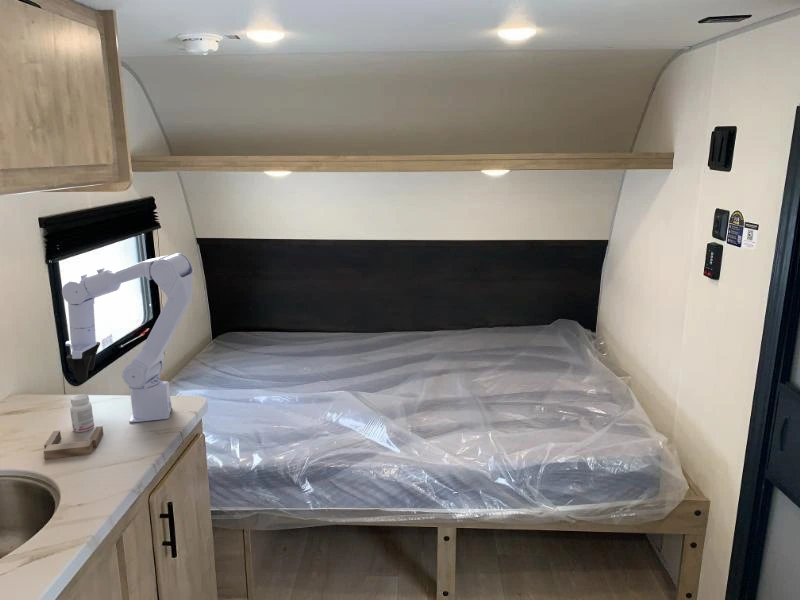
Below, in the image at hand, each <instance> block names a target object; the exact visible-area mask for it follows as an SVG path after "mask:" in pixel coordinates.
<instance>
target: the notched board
mask: <svg viewBox="0 0 800 600" xmlns="http://www.w3.org/2000/svg"><path fill="white" fill-rule="evenodd" d="M61 434H62V433H61V430H53V432H52V433H51V434H50V436H49V437H48V439H47V440H46V441H45V443H44V445H43V447H44V450H43V456H44V457H43V458H44V460H50V459H59V458H69V457H76V456H78V457H79V456H86V455H92V451H93V450H94V449H97V448H98V446H99V444H100V442H101V440H102V438H103V436H104V426H103V425H100V426H96V427H95V428H94V431H93V432H92V434H91V436H90V438H89V440H81V441H73V442H72V441H71V442H64V443H59V442H60V441H61V439H62V435H61Z"/></svg>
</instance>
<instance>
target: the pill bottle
mask: <svg viewBox="0 0 800 600" xmlns="http://www.w3.org/2000/svg"><path fill="white" fill-rule="evenodd" d="M70 403H71V405H70V406H69V412H70V416H71V417H70V419H71V425H72V430H73V431H74V432H77V433H83V432H87V431H90V430H92V429H93V428H94V427H95V421H94V414H93V406H92V402H91V401H90V397H89V394H88V393H79V394H75V395H72V396H71V397H70Z"/></svg>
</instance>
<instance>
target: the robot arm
mask: <svg viewBox="0 0 800 600" xmlns="http://www.w3.org/2000/svg"><path fill="white" fill-rule="evenodd" d="M194 272H195V269H194V266H193V265H192V262H191V260H190V259H189V257H188V256H187V255H186V254H183V253H180V252H176V253H172V254H171V255H162V256H158V257H154V258H149V259H146V260H144V261H139V262H138V263H135V264H134V265H133V264H132V265H129V266H127V267H125V268H122V269H120V270H117V271H116V270H114V269H111V268H105V267H102V268H98V269H97V270H96V272H95V273H92V274H89V275H87V274H83V275H81V276H80V278H77V279H74V280H70V281H68V282H67V283H65V284H64V285H63V287H62V290H61V294H62V297H63V299H64V301H65V302H67V307H68V322H69V325H68V326H69V335H70V340H67V341H66V342H65V347H70V349H71V354H67V356H66V362H67V363H68V364H69V365H70V367H71V369H72V370H73V371H72V372H73V375H74V377H75V380H76V381H77V382H87V380H88V374H89V371H94V368H95V365H96V357H97V353H98V350H99V348H100V345H101V342H100V341H97V339H96V324H95V323H96V322H95V321H96V319H95V307H94V306H95V305H94V304H95V298H99V297H101V296H105V295H107V294H110V293H113V292H116V291H118V290H119V289H120V287H121V284H122V283H125V282H130V281H133V280H136V279H140V278H142V277H145V278H146V279H147V280H148V281H151V280H153V281H154V282H155V284H156V285H157V286H158V287H159V288H160V290H161V291H162V292H163V293H164V295H165V296H166V297H167V299H166V302H165V303H164V305H163V308H162V309H161V311H160V314H159V315H158V318H157V319H156V321H155V323H154V325H153V327H152V329H151V331H150V333H149V334H148V336H147V339H146V341H145V342H144V345H143V346H142V348H141V349H140V351H139V352H138V353H137V354H136V355H135V356H134V357H133V359H132V361H131V363H129V364H128V365H126V366H125V367H124V368H123V370H122V372H121V374H122V379H123V382H124V384H126V385H127V386H128V388H129V395H130V400H131V403H130V404H131V409H132V410H131V411H132V413H131V415H130V418H129V420H128V422H129V423H137V422H138V423H139V422H149V421H150V422H151V421H157V420H168V419H169V418H170V415H171V411H172V408H173V405H172V399H171V390H170V382H169V381H167V380H161V379H160V374H161V373H162V371H163V368H164V366H163V365H164V359H165V357H166V355H165V354H164V353H165V351H166V350H167V347H168V345H169V343H170V342H171V340H172V339H173V336H174V334H175V332H176V330H177V328H178V327H179V325H180V323H181V321H182V319H183V317H184V315H185V313H186V312H187V310H188V308H189V306H190V304H191V302H192V300H193V297H194V296H193V295H194V294H193V293H194V292H193V291H194V289H193V288H194V287H193V275H194V274H195V273H194Z"/></svg>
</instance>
